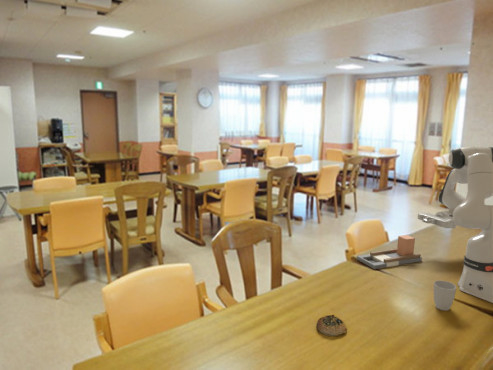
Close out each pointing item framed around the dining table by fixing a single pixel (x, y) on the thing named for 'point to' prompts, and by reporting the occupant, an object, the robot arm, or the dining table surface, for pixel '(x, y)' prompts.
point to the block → (405, 245)
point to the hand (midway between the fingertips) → (424, 221)
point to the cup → (444, 294)
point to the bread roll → (331, 326)
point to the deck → (387, 258)
